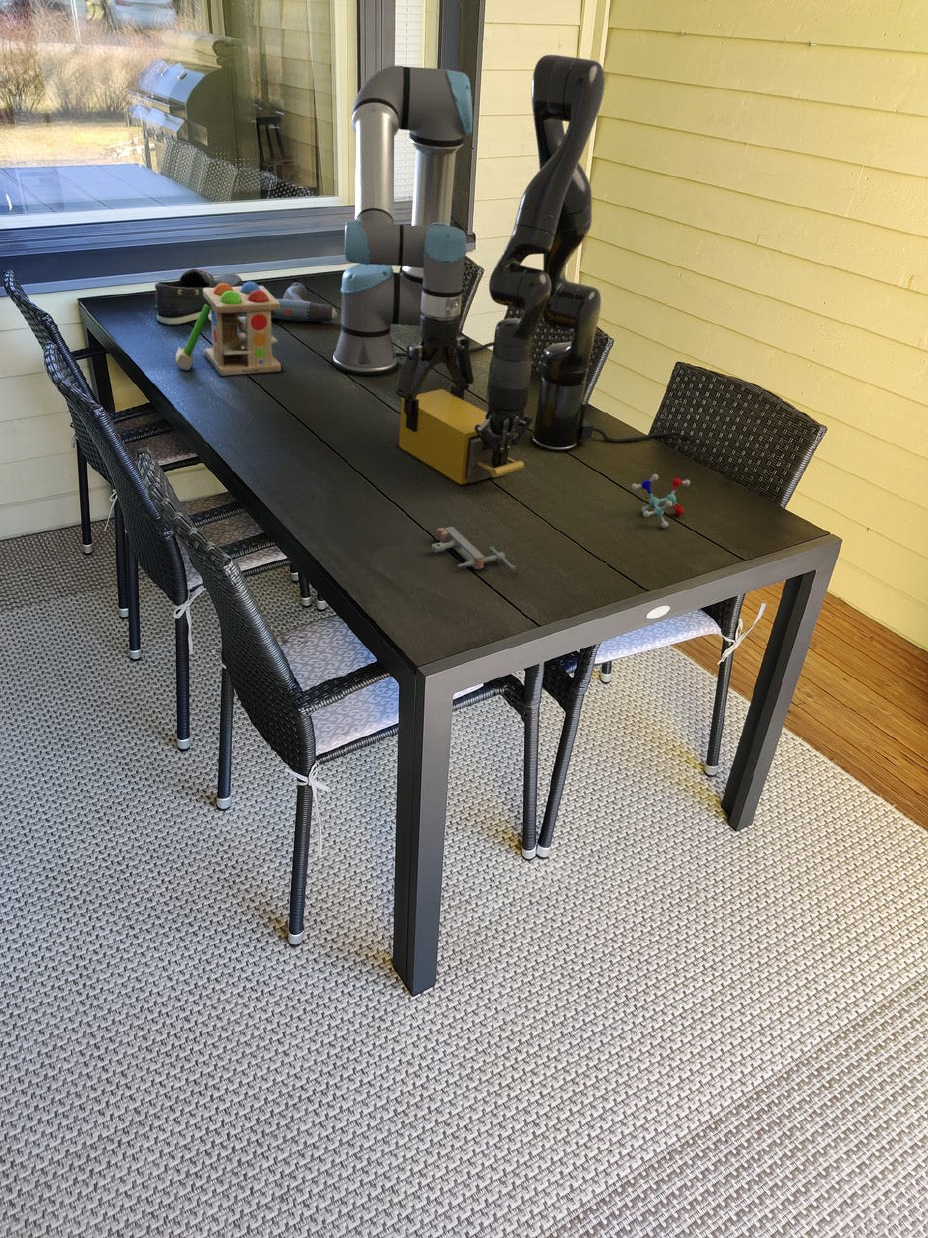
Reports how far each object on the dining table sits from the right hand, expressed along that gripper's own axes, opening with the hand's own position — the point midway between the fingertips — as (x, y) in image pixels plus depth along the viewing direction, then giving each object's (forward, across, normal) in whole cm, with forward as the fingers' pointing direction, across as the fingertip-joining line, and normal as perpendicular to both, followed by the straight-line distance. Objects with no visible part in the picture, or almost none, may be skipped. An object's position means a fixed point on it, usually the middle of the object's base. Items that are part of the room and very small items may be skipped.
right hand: (498, 467), depth 186 cm
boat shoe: (+4, +2, +121) cm, 121 cm away
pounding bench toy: (+4, -13, +81) cm, 82 cm away
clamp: (+5, -22, -17) cm, 28 cm away
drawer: (+3, 0, +9) cm, 10 cm away
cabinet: (+4, 0, +15) cm, 15 cm away
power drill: (+4, +25, +106) cm, 109 cm away
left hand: (-1, 0, +20) cm, 21 cm away
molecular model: (+4, +19, -24) cm, 31 cm away
